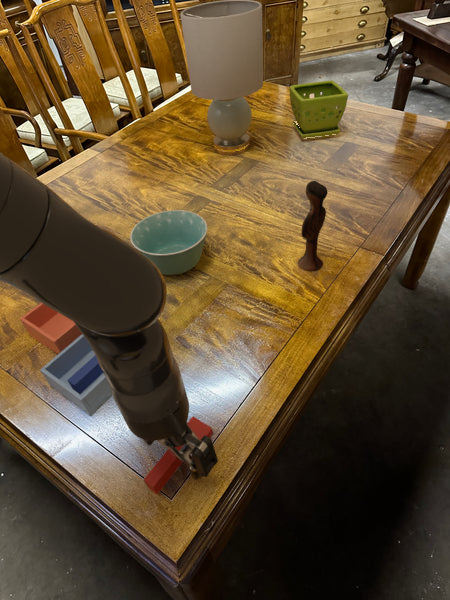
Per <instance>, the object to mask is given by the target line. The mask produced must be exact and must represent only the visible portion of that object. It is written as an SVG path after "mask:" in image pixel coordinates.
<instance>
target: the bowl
mask: <svg viewBox="0 0 450 600" xmlns="http://www.w3.org/2000/svg"><path fill="white" fill-rule="evenodd" d="M207 234H208V223H207V221H206V220H205V218H203V217H202V216H201V215H200V214H198V213H195V212H192V211H189V210H184V209H171V210H170V209H169V210H164V211H159V212H156V213H152V214H151V215H148V216H146V217H145V218H142V219H141V220H140V221H138V222H137V223H136V224H135V226H134V227H133V228H132V229H131V231H130V234H129V240H130V243H131V246H132V247H133V248H135V249H136V250H137V251H139V252H140V253H142V254H143V255H145V256H146V257H148V258H149V259H150V260H151V261H153V262H154V263H155V264H156V266H157V267H158V268H159V270H160V271H161V273H162V275H163V276H177V275H181V274H184V273H187V272H188V271H190V270H191V269H193V268H194V267H196V265H197V264H198V263H199V262H200V260H201V257H202V254H203V250H204V246H205V244H206V243H205V242H206V238H207Z"/></svg>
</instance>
